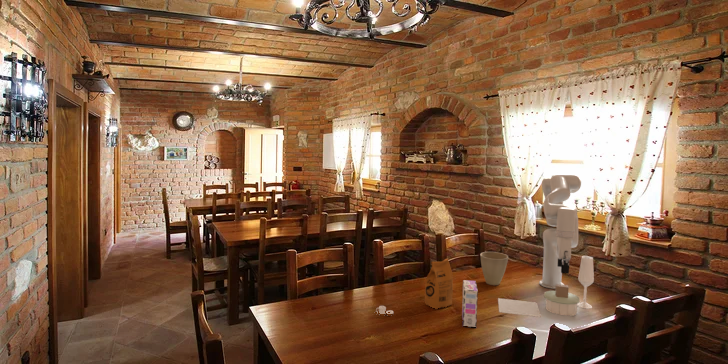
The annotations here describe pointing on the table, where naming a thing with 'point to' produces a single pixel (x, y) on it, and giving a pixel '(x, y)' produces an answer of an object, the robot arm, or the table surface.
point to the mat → (518, 307)
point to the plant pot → (493, 266)
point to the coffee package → (439, 285)
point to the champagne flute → (586, 278)
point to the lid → (561, 295)
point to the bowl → (561, 308)
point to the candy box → (469, 303)
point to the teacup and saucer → (383, 309)
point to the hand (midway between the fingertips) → (562, 269)
